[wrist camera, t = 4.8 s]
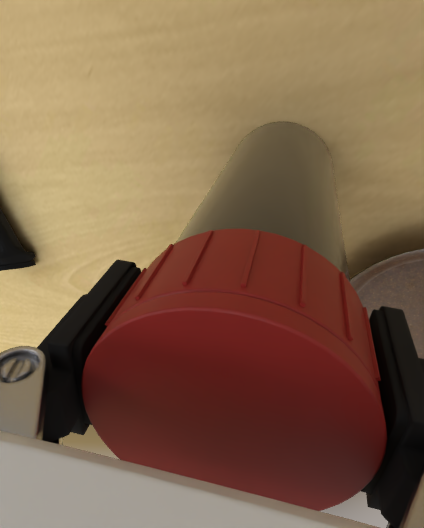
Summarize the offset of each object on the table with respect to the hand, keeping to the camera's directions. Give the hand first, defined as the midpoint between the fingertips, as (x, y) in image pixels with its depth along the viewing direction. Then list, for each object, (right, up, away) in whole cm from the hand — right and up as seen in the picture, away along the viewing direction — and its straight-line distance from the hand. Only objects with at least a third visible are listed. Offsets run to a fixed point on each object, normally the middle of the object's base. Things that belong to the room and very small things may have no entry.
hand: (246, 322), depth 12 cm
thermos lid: (0, 0, 0) cm, 0 cm away
